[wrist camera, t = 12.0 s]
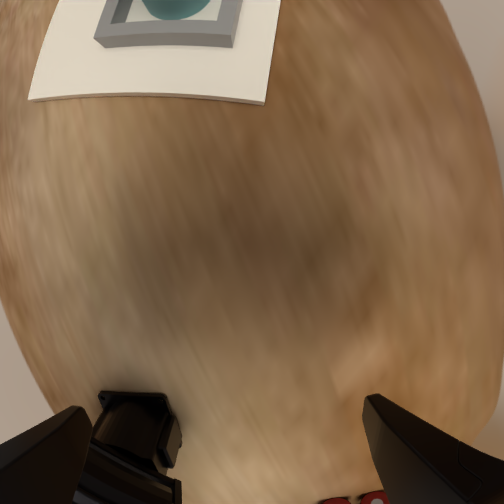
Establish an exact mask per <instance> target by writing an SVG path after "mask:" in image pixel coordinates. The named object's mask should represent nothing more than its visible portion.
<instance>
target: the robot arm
mask: <svg viewBox="0 0 504 504" xmlns="http://www.w3.org/2000/svg"><path fill="white" fill-rule="evenodd" d="M103 396H104V397H103ZM98 398H99V401H100V403H101V405H102V408H103V411H102V413H101V414H100V416H99V418H98V419H97V421H96V423H95V425H94V426H93V427H92V423H91V421H90V419H89V417H88V415H87V413H86V411H85V409H84V408H83V407H81V406H70V407H69V408H67V409H65V410H63V411H61V412H60V413H58V414H56V415H54V416H52V417H51V418H49V419H47V420H45V421H43V422H42V423H40V424H38V425H36V426H34V427H33V428H31V429H29V430H27V431H25V432H23V433H21V434H19V435H17V436H16V437H14V438H12V439H10V440H8V441H6V442H4V443H2V444H0V504H182V488H181V481H180V480H177V479H172V478H170V477H168V476H166V474H167V470H168V468H171V469H172V468H173V467H174V466H175V462H176V458H177V454H178V450H179V448H180V447H181V446H182V441H181V438H182V434H181V431H180V429H179V426H178V423H177V420H176V417H175V416H174V415H172V412H171V409H170V406H169V403H168V400H167V397H166V396H165V395H163V394H147V393H124V392H109V391H101V392H100V393H99V394H98ZM159 399H161V400H163V401H161V400H159ZM362 420H363V424H364V428H365V432H366V436H367V440H368V443H369V447H370V451H371V455H372V459H373V462H374V465H375V467H376V470H377V472H378V475H379V477H380V480H381V483H382V485H383V488H384V490H385V493H386V495H387V498H388V500H389V503H390V504H504V461H503V460H501V459H498V458H495V457H493V456H490V455H488V454H486V453H483V452H481V451H479V450H477V449H475V448H473V447H471V446H469V445H467V444H465V443H463V442H462V441H459V440H458V439H456V438H454V437H452V436H450V435H449V434H447V433H445V432H443V431H442V430H440V429H438V428H436V427H434V426H433V425H431V424H429V423H428V422H426V421H424V420H422V419H421V418H419V417H417V416H415V415H414V414H412V413H410V412H409V411H407V410H405V409H404V408H402V407H400V406H399V405H397V404H395V403H394V402H392V401H390V400H389V399H387V398H385V397H384V396H382V395H380V394H372V395H368V396H366V397H365V400H364V407H363V414H362Z"/></svg>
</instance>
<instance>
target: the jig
mask: <svg viewBox="0 0 504 504" xmlns="http://www.w3.org/2000/svg"><path fill="white" fill-rule="evenodd" d="M280 2H281V0H210V2H209V3H208V4H207V5H206V6H205V8H203V9H202V10H201V11H199V12H198V13H196V14H194V15H192V16H190V17H187V18H184V19H180V20H162V19H158V18H156V17H154V16H152V15H151V14H150V13H149V12H148V10H147V8H146V7H145V5H144V3H143V2H142V0H59V3H58V5H57V7H56V10H55V12H54V15H53V17H52V20H51V22H50V25H49V28H48V31H47V33H46V36H45V39H44V42H43V45H42V48H41V51H40V55H39V58H38V61H37V65H36V68H35V72H34V75H33V79H32V83H31V87H30V91H29V96H28V100H30V101H33V102H39V101H48V100H57V99H69V98H83V97H104V96H162V97H183V98H199V99H211V100H221V101H231V102H240V103H248V104H255V105H262V106H264V103H265V96H266V90H267V83H268V77H269V71H270V64H271V58H272V51H273V45H274V39H275V33H276V26H277V20H278V14H279V8H280Z"/></svg>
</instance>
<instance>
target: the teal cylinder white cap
mask: <svg viewBox="0 0 504 504" xmlns="http://www.w3.org/2000/svg"><path fill="white" fill-rule="evenodd" d="M142 2H143V3H144V5H145V7H146V8H147V10H148V12H149V13H150V14H151V15H152V16H154V17H156V18H158V19H162V20H180V19H184V18H187V17H190V16H192V15H194V14H196V13H198V12H199V11H201V10H202V9H203V8H205V6H206V5H207V4H208V3H209V2H210V0H142Z"/></svg>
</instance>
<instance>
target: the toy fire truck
mask: <svg viewBox="0 0 504 504" xmlns="http://www.w3.org/2000/svg"><path fill="white" fill-rule="evenodd" d="M323 504H351V503H350V502H349V501H347V500H345V499H342V498H332V499H329V500H327V501H325V502H324V503H323ZM360 504H390V503H389V500H388V498H387V495H386V493H384V492H381V491H375V492H371V493H369V494H367V495H365V496H364V497H363V499H362V501H361V503H360Z"/></svg>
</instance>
